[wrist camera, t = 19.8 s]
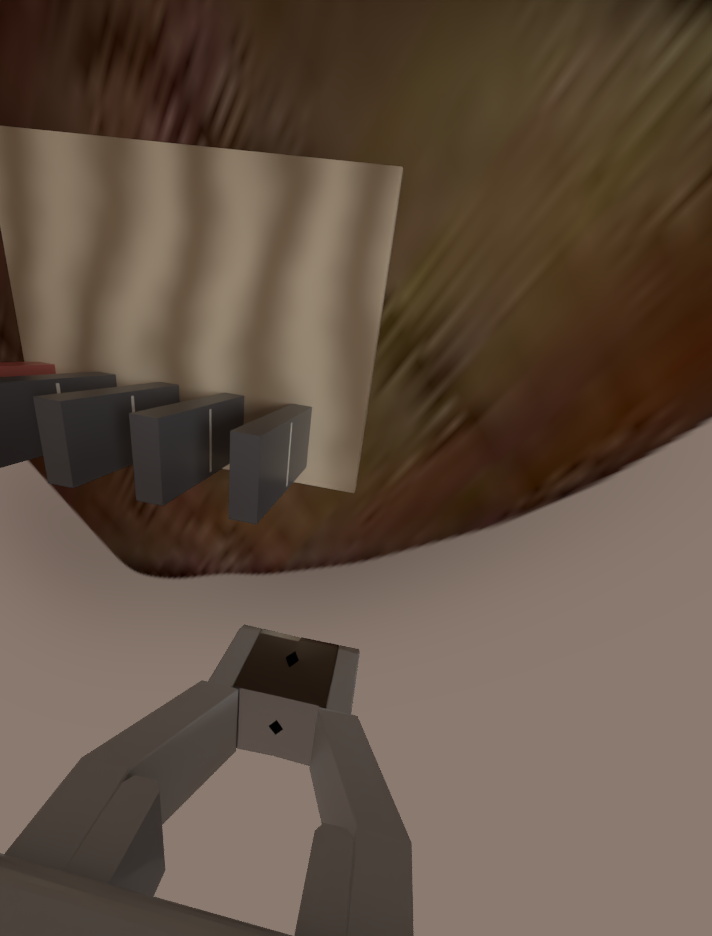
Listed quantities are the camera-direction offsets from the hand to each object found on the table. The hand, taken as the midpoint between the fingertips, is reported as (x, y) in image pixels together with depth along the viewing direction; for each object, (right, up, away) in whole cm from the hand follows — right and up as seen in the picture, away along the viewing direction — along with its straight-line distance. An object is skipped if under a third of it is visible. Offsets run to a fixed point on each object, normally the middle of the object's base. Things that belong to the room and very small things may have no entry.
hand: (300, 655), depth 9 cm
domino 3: (-9, +8, +19) cm, 22 cm away
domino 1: (-19, +10, +20) cm, 30 cm away
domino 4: (-3, +7, +19) cm, 20 cm away
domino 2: (-14, +9, +20) cm, 26 cm away
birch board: (-11, +16, +18) cm, 27 cm away
